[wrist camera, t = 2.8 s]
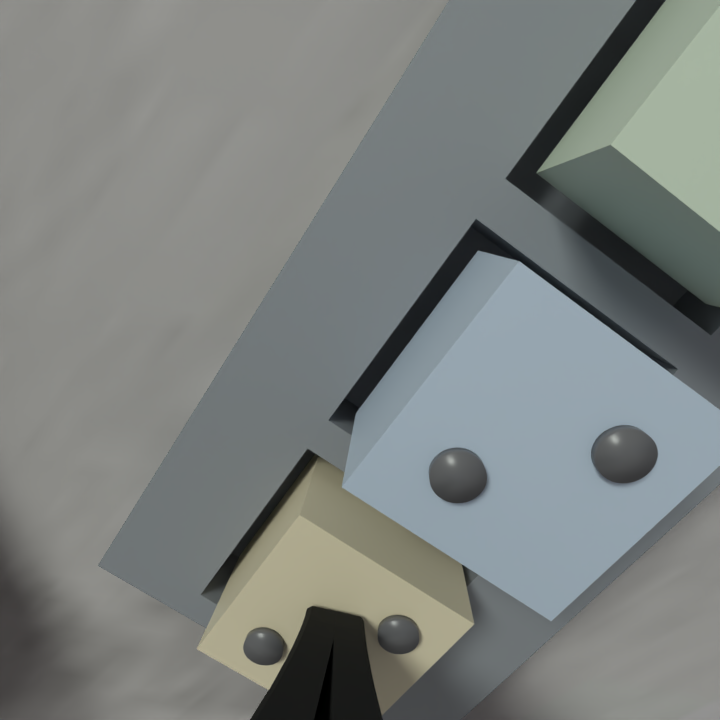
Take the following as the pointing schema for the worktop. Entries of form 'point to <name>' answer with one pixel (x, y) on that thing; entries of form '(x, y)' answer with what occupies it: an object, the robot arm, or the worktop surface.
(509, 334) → the tile two dots
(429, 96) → the board
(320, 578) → the tile three dots
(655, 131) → the tile one dot
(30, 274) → the worktop surface
